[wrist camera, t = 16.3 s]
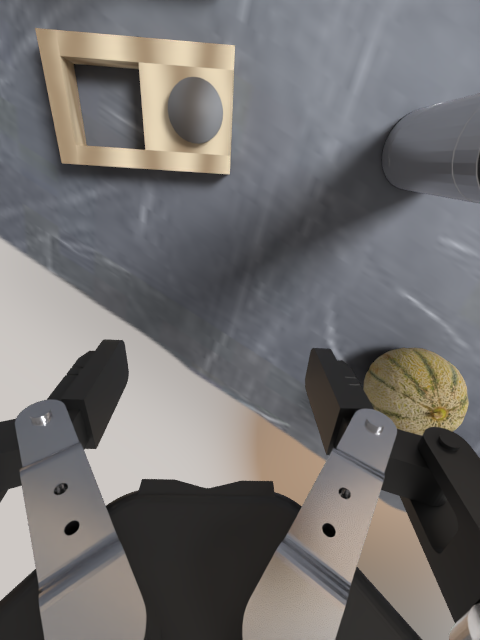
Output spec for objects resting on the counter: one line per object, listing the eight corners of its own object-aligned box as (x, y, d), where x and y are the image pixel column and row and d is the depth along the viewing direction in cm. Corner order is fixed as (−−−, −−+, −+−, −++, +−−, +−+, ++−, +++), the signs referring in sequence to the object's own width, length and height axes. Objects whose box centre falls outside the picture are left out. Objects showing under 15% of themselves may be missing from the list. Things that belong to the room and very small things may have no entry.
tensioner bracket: (234, 54, 34) (234, 42, 30) (229, 173, 39) (229, 174, 36) (51, 38, 33) (29, 24, 29) (73, 163, 38) (57, 163, 35)
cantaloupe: (376, 407, 60) (416, 478, 47) (335, 364, 55) (368, 430, 41) (446, 366, 55) (513, 432, 42) (408, 315, 50) (472, 371, 37)
